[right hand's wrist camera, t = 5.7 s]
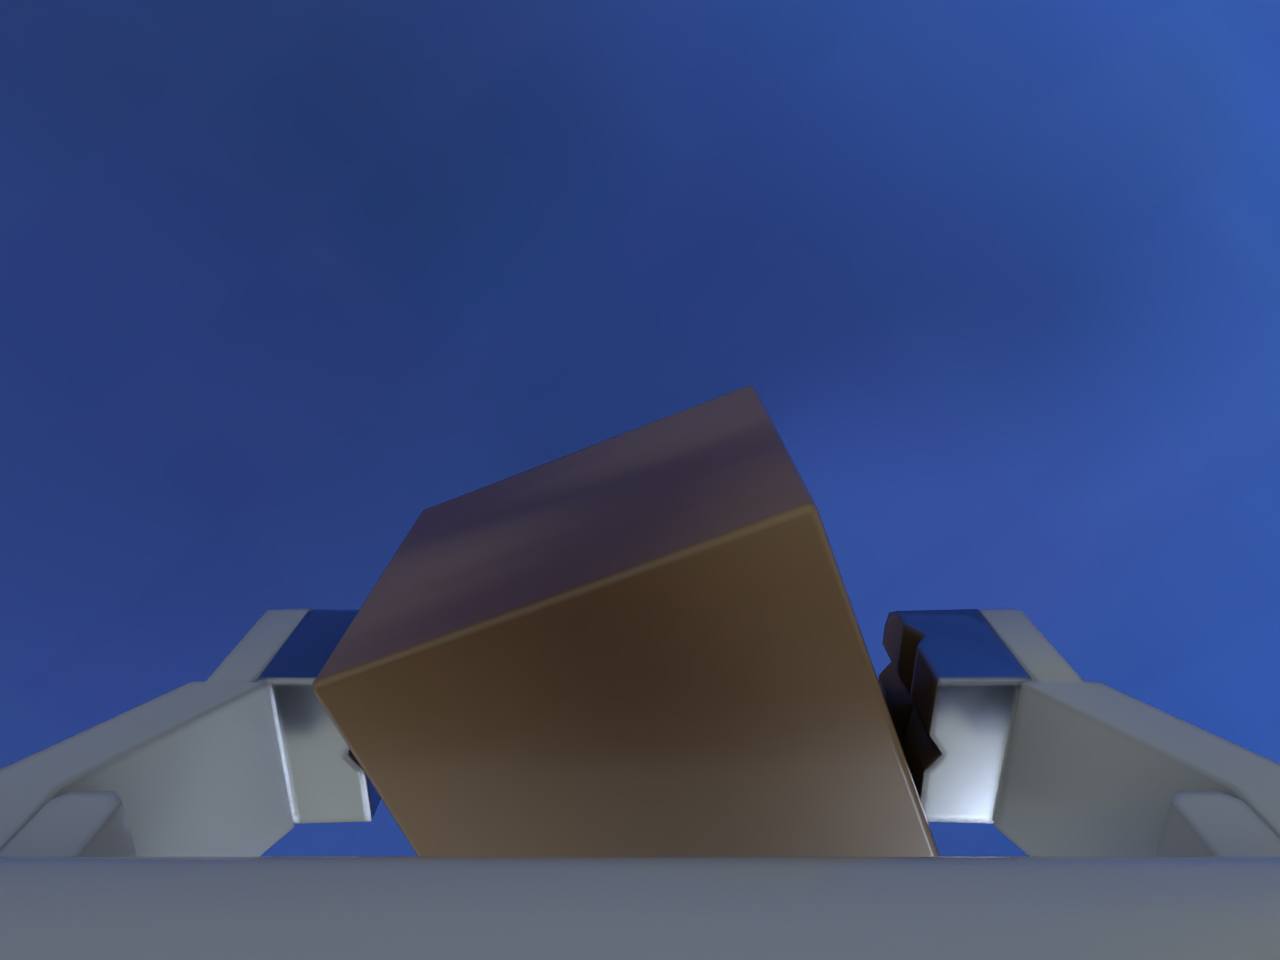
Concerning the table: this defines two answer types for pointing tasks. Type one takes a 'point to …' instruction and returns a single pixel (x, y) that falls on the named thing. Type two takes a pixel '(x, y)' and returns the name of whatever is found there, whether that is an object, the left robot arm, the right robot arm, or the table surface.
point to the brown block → (627, 663)
